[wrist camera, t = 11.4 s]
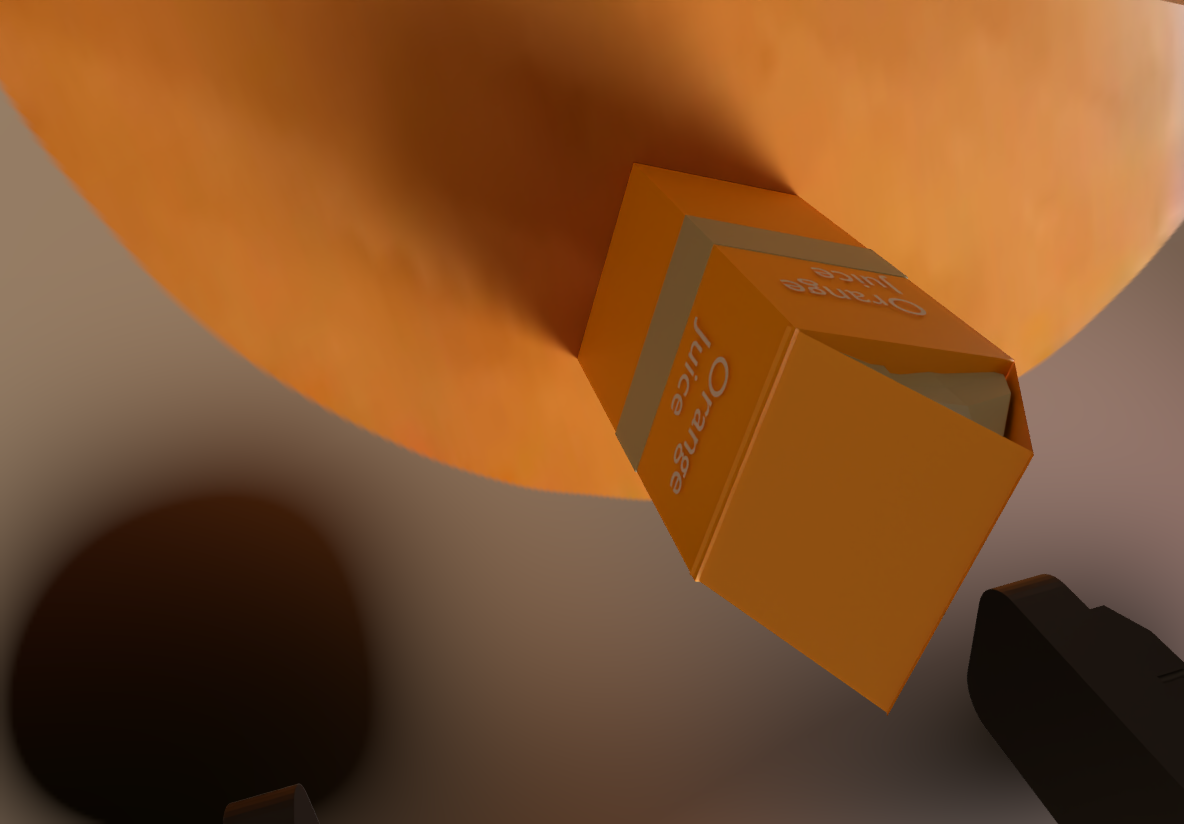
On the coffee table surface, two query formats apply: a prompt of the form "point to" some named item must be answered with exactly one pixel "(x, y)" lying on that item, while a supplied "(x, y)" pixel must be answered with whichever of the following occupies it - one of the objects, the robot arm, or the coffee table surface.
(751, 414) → the orange juice
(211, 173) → the coffee table surface
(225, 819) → the robot arm
